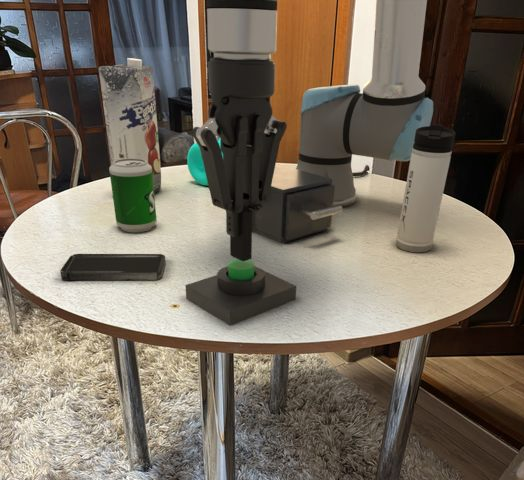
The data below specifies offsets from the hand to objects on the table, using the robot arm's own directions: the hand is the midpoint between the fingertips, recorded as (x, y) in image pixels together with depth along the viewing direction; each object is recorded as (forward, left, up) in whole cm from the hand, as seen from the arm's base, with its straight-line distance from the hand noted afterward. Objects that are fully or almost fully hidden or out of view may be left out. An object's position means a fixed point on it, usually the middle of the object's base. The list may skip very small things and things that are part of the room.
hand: (240, 256), depth 69 cm
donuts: (-36, -54, -7) cm, 65 cm away
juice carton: (-16, -56, -7) cm, 59 cm away
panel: (0, 0, -7) cm, 7 cm away
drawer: (-26, -16, -6) cm, 31 cm away
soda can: (-4, -36, -7) cm, 37 cm away
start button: (0, 0, -3) cm, 3 cm away
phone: (+9, -20, -7) cm, 23 cm away
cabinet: (-26, -20, -7) cm, 33 cm away
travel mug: (-38, +3, -7) cm, 39 cm away
